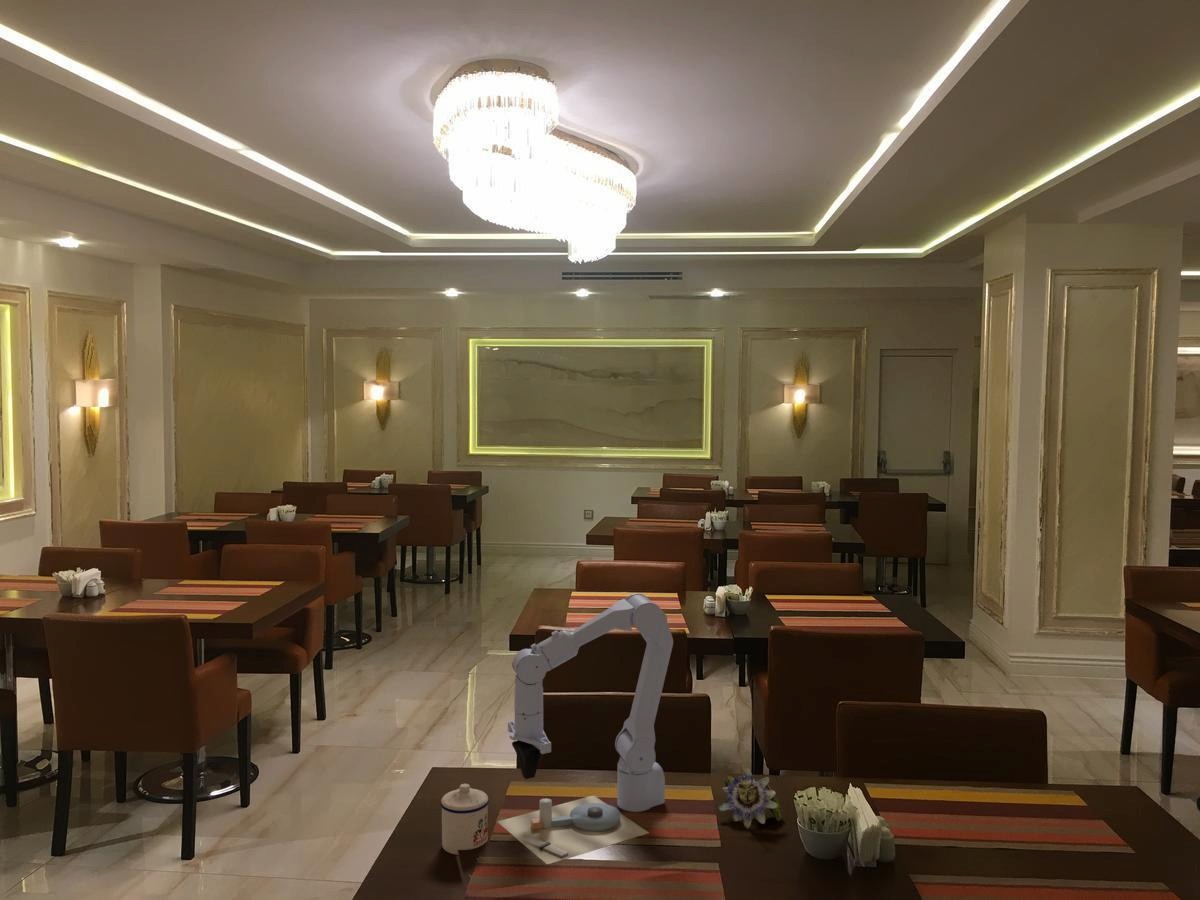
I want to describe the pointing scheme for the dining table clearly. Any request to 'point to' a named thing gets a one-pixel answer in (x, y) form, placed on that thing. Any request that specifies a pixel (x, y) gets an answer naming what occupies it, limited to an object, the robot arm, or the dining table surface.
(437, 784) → the dining table surface
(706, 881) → the dining table surface
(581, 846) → the cream flat board
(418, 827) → the dining table surface
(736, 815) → the passion flower
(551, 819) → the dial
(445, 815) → the teacup with lid
